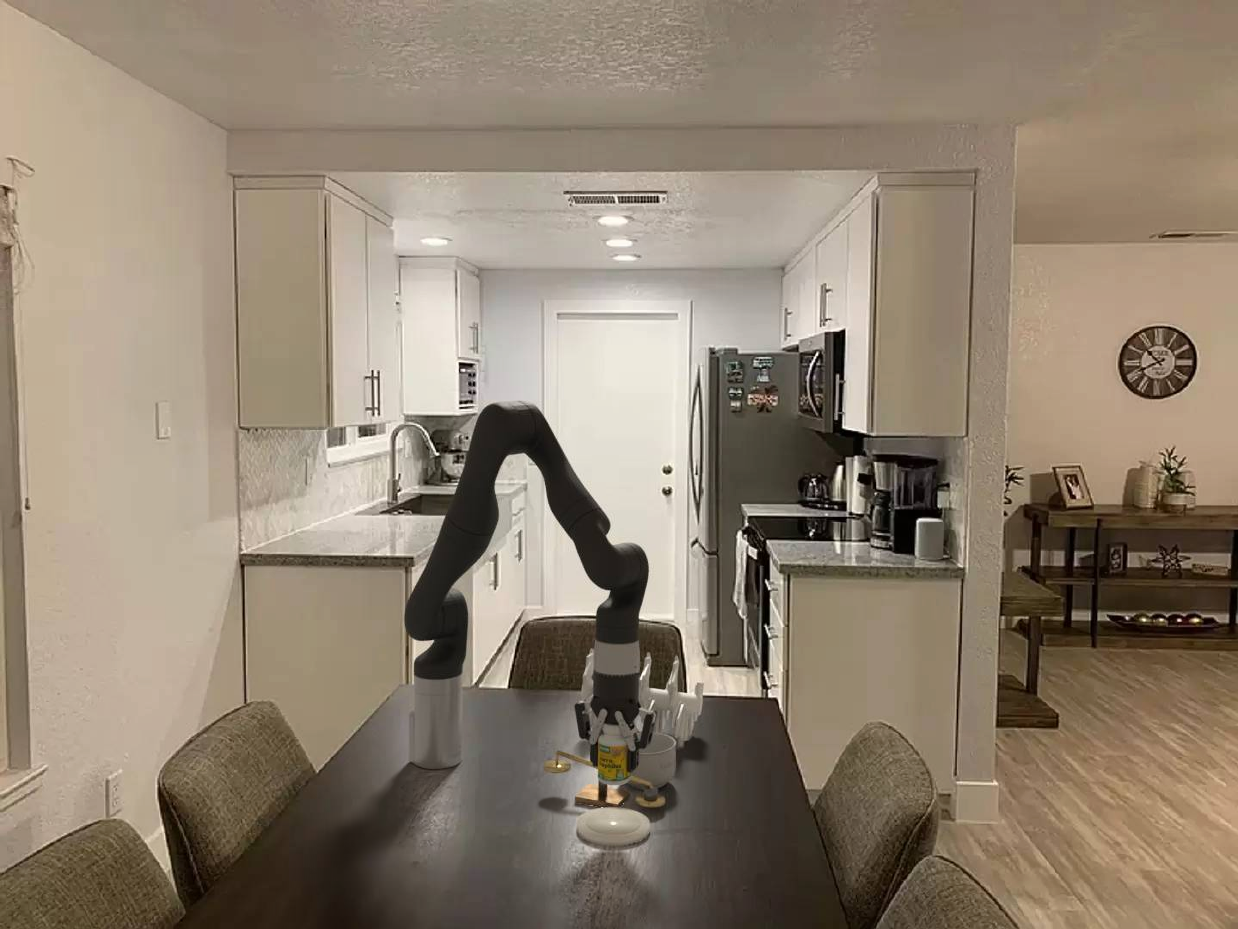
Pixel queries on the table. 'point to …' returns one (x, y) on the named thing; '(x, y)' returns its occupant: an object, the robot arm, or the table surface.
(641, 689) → the spiral staircase
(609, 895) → the table surface
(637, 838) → the plate
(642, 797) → the balance
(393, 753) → the table surface
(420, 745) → the robot arm
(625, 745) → the supplement bottle
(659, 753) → the teacup
